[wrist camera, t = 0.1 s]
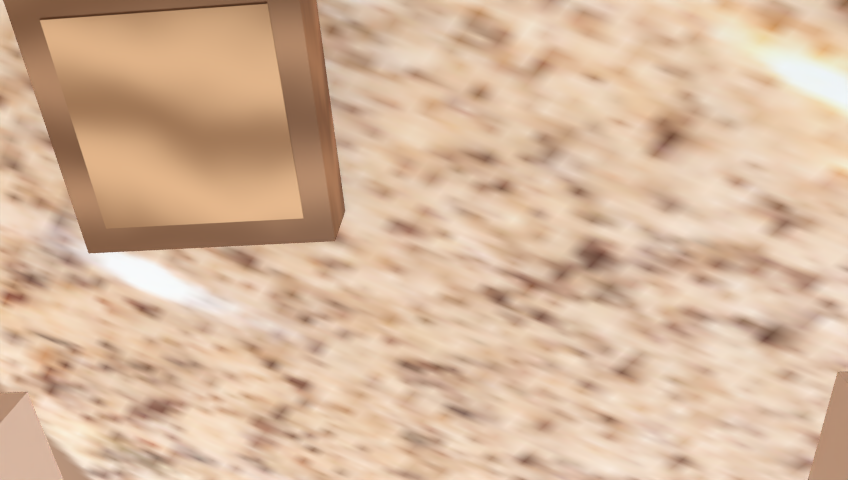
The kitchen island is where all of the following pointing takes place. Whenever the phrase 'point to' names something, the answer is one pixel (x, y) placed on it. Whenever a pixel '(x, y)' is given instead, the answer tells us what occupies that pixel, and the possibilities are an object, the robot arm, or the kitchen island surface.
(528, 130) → the kitchen island surface
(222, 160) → the stand
